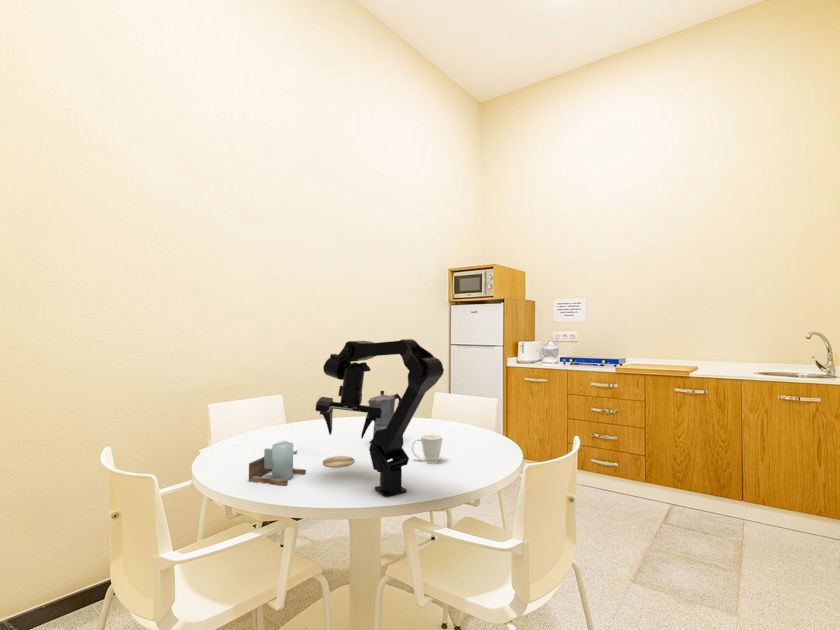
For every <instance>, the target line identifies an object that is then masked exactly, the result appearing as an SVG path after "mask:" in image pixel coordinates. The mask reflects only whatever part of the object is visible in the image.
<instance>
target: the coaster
mask: <svg viewBox="0 0 840 630" xmlns="http://www.w3.org/2000/svg"><path fill="white" fill-rule="evenodd" d="M354 463H355V459H354V458H353V457H351V456H344V455H337V456H331V457H326V458H325V459H324V460H322V465H323V466H325V467H328V468H346V467H350V466H352V465H353V464H354Z"/></svg>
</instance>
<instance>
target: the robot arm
mask: <svg viewBox="0 0 840 630" xmlns="http://www.w3.org/2000/svg"><path fill="white" fill-rule="evenodd" d="M393 355H395V356H396V355H400V356H401V359H402V362H403V365H404V366H405V368H406V369H407V370H408V374H407V383H408V384H407V386H406V389H405V391H404V392H403V395H402V396H401V401H400V403H399V404H398V403H397V406H396V407H395V408H396V409H394V414H393V416H392V418H391V420H390V422H389V424H388V426H387V428H385V429H381V430H378V431H376V432H375V434H374V436H372V439H371V440H370V441H369V444H370V445H369V448H368V451H369V455H370V459H371V463H372V468H373V470H374V471H376V472H377V473H379V485H378V486H375V487H374V489H375V491H377V492H378V493H379V494H381V495H382V496H384V497H391V496H396V495H399V494H403V493H406V492H407V489H406V488H405V487H403V486H402V485H403V484H402V483H403V482H402V480H403V479H402V477H403V476H402V475H403V474H402V473H403V472H402V467H403V466H408V464H409V461H410V460H409V459H410V458H409V456H408V454H407V453H406V451H405V450H404V448H403V446H404V434H405V432H406V430H407V428H408V426H409V425H410V422H411V420H412V418H413V417H414V415H415V414H416V411H417V410H418V408H419V405H420V403H421V401H422V400H423V398H424V397H425V394H427V392H428V391H429V390H430V389H431V388H433V386H435V385H436V384H437V382H438V381H439V380H440V379H441V378H442V377H443V375H444V372H445V371H444V366H443V363H442V360H440V359H439V358H437V357H436V356H434V355H433V354H432V353H431V352H430V351H428V350H427V349H425V348H424V347H422V346H421V345H420V344H419V343H418V342H417V341H416V340H415V339H414V338H413V339H411V338H407V339H406V338H405V339H399V340H393V341H381V342H373V341H367V340H353V341H352V340H349V341H348V340H347V341H346V342H345V344H344V346H343V348H342V349H341V350H340V352H339V353H330V357H329V358H328V359H327V360H325V362H324V364H323V372H324V374H325V376H329V377H332V378H334V379H337V380H340V381H342V385H339V389H338V397H340V402H337V401H334V397H329V396H328V397H327V396H320V397H319V398H318V400H317V401H316V404H315V409H314V410H315V411H316V412H319V415H322V416H323V419H324V421H325V424H326V426H327V430H328V434H329V436H331V435H332V434H333V433H332V432H333V411H334V410H342V411H343V410H344V411H351V412H360V413H366V416H365V421H364V424H363V427H362V428H363V429H362V431H361V436H360V438H361V439H363V438H364V436H365V434H366V432H367V430H368V429H369V427H370V425H371V423H372V422H374V421H376V418H381V414H382V407H383V406H382V405H381V404H378V403H370V404H369V403H368V405H363V404H362V401H363V386H364V379H365V377H364V376H365V372H371V368H370V366H369V365H368V364H367V362H366V361H367V360H370V359H373V358H375V357H378V356H380V357H381V356H393ZM361 361H365V362H361ZM361 404H362V405H361Z"/></svg>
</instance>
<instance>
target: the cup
mask: <svg viewBox="0 0 840 630" xmlns="http://www.w3.org/2000/svg"><path fill="white" fill-rule="evenodd" d="M417 441H418V442H421V445H422V452H423V455H424V456H423V457H424V459H423V458H421V457H420V456H419V455H417V454H416V453H415V452H414V445H415V443H416V442H417ZM442 443H443V436H442V435H440V434H434V433H429V434H423V435H420V438H416V439H415V440H414V441H413V442H412V446H411V451H412V454H413V455H414V457H416V458H417V459H418V460H420V461H422V462H425V463H426V464H430V463H431V464H432V463H433V464H437V463H439V460H438V459H440V454H441V449H442Z"/></svg>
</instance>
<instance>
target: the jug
mask: <svg viewBox="0 0 840 630" xmlns="http://www.w3.org/2000/svg"><path fill="white" fill-rule="evenodd" d="M271 447H272V448H271ZM271 447H266V448H264V451H263V452H264V453H263V457H264V468H265V469H272V471H271V478H273V479H281V480H288V481H291V480H292V479H294V474H293V468H294V453H293V448H294V443H293V442H289V441H288V442H281V443H278V442H276V443H274V444H272V445H271Z"/></svg>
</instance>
